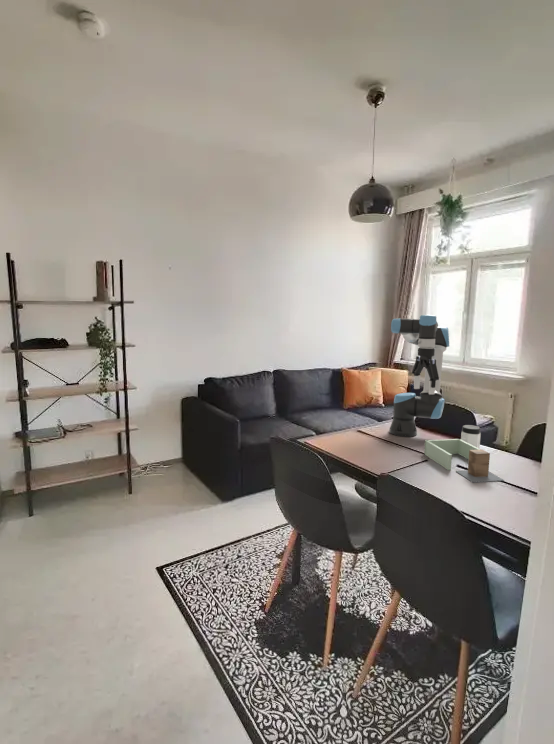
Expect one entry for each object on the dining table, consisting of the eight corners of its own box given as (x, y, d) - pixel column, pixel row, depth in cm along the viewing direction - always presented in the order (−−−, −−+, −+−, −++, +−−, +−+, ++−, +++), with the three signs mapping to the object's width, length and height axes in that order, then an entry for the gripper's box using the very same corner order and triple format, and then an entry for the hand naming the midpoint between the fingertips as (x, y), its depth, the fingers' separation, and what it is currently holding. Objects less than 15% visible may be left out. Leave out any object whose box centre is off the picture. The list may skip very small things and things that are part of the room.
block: (467, 472, 174) (469, 450, 173) (480, 471, 175) (482, 449, 174) (475, 476, 169) (476, 453, 168) (488, 476, 170) (489, 453, 169)
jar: (456, 448, 208) (458, 425, 207) (469, 446, 211) (471, 424, 209) (469, 453, 200) (471, 430, 198) (482, 452, 202) (484, 428, 201)
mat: (455, 471, 176) (455, 470, 176) (485, 470, 178) (485, 469, 178) (472, 482, 164) (472, 481, 164) (504, 481, 166) (504, 480, 166)
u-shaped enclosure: (424, 454, 199) (424, 440, 198) (458, 452, 201) (459, 438, 200) (448, 470, 178) (449, 454, 177) (486, 468, 181) (487, 453, 180)
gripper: (406, 345, 205) (404, 386, 208) (433, 350, 180) (430, 397, 184) (420, 345, 206) (417, 386, 209) (448, 350, 182) (445, 396, 185)
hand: (423, 391), depth 196 cm, fingers open, 13 cm apart
